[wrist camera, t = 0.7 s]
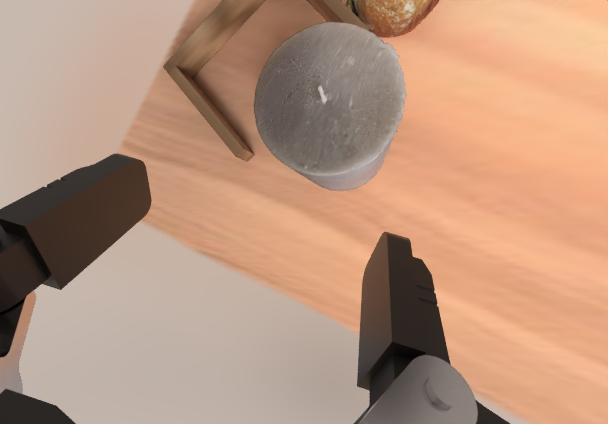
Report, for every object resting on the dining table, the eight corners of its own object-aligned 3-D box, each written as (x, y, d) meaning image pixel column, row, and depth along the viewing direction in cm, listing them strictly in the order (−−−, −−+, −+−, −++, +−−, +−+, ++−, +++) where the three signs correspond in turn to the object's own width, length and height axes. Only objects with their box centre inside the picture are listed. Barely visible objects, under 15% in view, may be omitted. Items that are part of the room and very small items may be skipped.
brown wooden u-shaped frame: (286, -37, 32) (279, -62, 29) (368, 46, 30) (368, 28, 27) (179, 78, 35) (162, 66, 32) (247, 161, 33) (235, 156, 30)
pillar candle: (282, 145, 32) (213, 90, 17) (348, 85, 30) (333, -32, 16) (336, 210, 31) (311, 209, 16) (407, 150, 29) (452, 90, 14)
